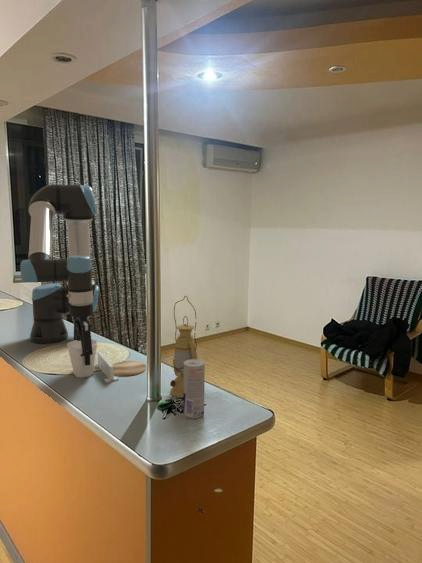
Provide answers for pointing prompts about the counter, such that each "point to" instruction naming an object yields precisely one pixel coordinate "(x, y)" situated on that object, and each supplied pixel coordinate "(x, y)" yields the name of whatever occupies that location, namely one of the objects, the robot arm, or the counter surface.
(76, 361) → the cup
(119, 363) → the cork coaster
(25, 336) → the counter surface
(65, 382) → the counter surface
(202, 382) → the beverage can
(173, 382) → the lantern
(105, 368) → the acrylic wall
